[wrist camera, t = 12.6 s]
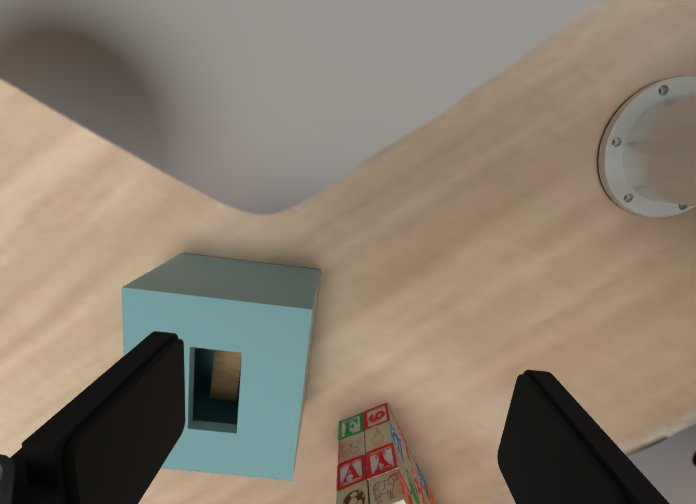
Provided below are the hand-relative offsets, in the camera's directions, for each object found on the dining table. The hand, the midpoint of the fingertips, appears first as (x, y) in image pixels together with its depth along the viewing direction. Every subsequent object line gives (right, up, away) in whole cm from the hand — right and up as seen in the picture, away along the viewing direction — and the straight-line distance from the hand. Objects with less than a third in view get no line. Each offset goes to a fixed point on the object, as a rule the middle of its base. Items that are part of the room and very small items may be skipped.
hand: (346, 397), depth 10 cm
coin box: (-11, -5, +28) cm, 30 cm away
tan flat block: (-12, -9, +26) cm, 30 cm away
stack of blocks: (+6, -24, +33) cm, 41 cm away
